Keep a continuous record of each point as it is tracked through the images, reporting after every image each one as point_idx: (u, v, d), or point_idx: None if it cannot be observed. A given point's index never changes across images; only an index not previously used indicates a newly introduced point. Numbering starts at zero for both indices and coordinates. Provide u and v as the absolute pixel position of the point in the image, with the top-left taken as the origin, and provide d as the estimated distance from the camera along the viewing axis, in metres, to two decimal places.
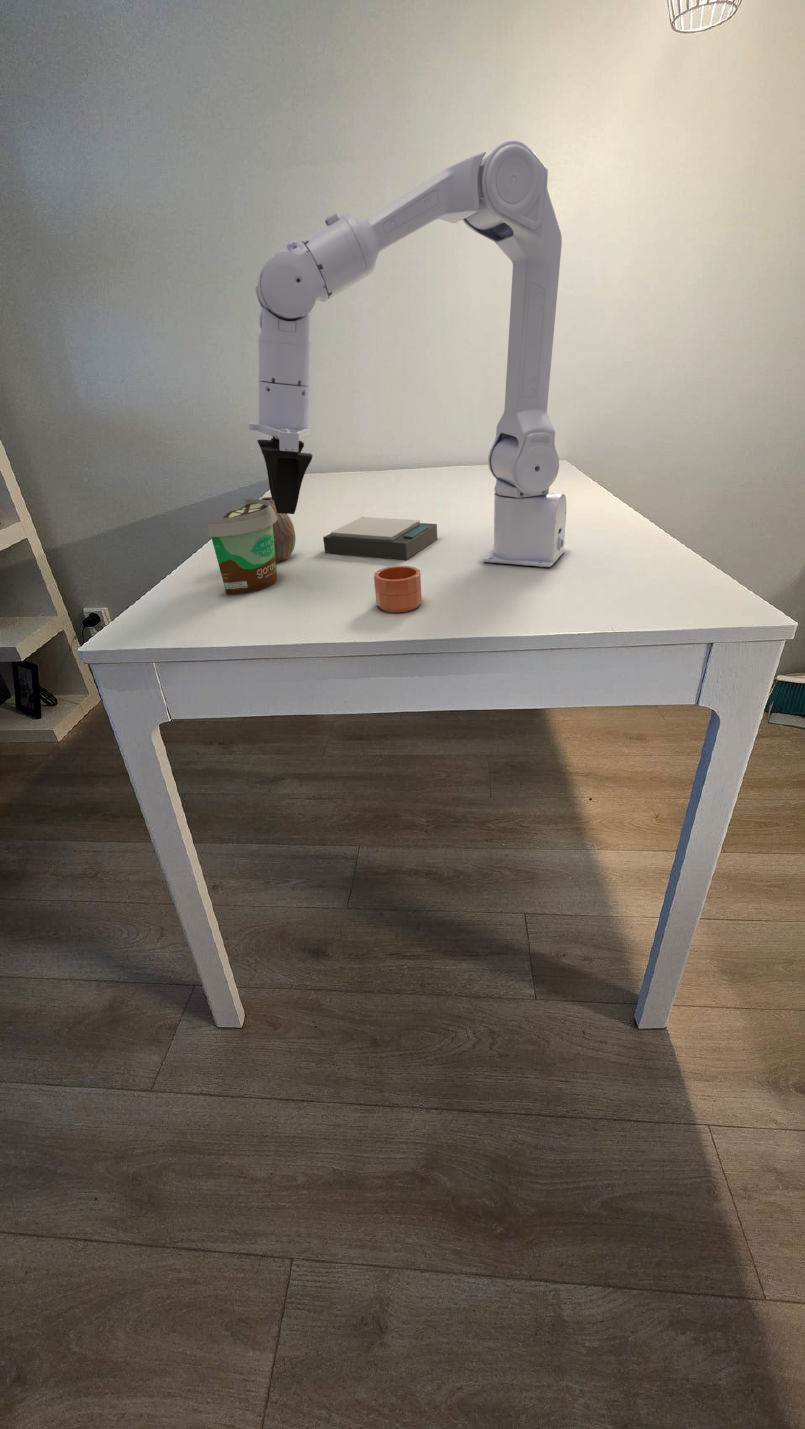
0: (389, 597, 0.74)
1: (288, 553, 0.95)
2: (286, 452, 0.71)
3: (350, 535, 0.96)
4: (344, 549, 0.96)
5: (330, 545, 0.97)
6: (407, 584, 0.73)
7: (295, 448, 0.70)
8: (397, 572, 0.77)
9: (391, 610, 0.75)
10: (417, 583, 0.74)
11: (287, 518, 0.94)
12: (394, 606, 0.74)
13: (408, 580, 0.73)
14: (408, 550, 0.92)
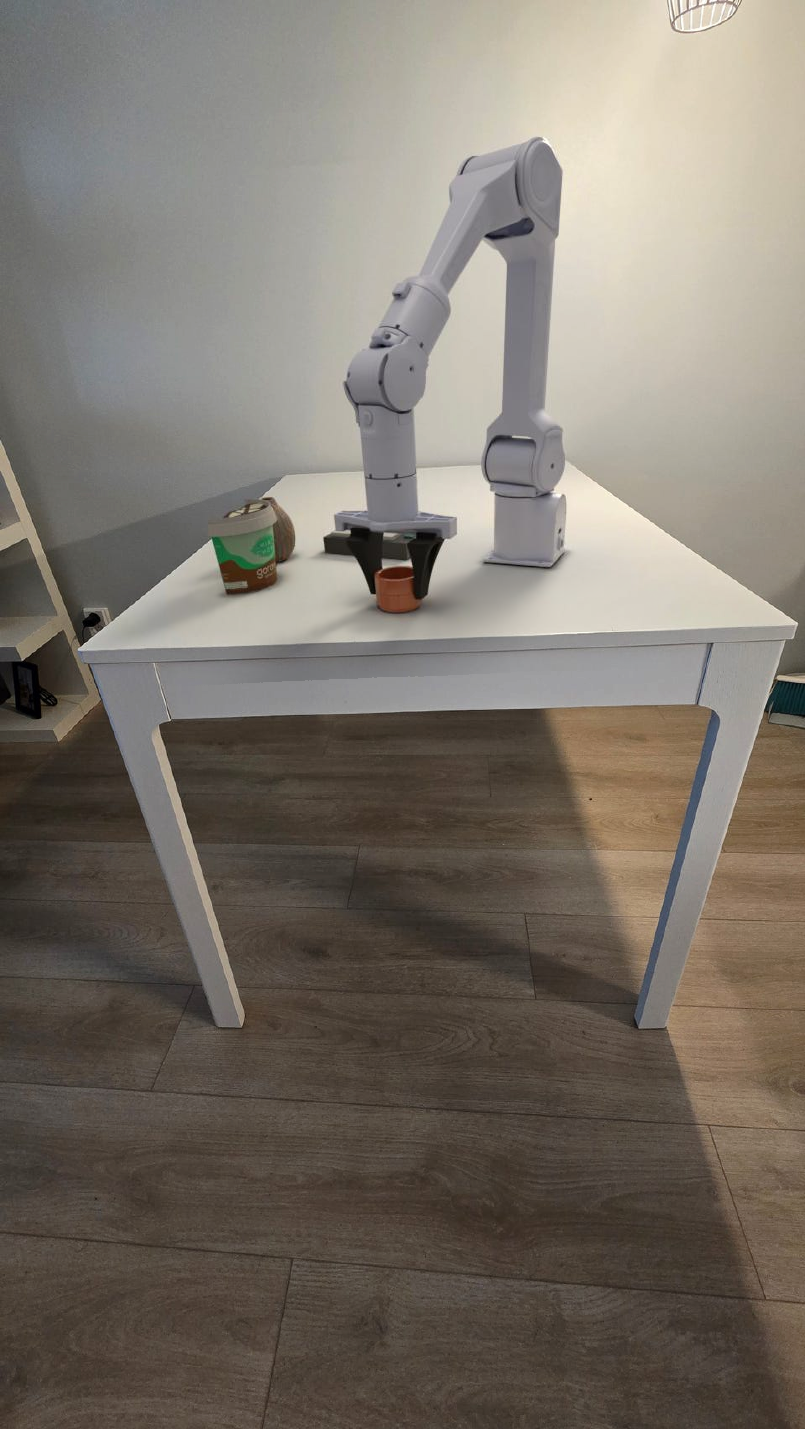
0: (389, 597, 0.74)
1: (288, 553, 0.95)
2: (437, 538, 0.70)
3: None
4: (344, 549, 0.96)
5: (330, 545, 0.97)
6: (407, 584, 0.73)
7: (456, 531, 0.70)
8: (397, 572, 0.77)
9: (391, 610, 0.75)
10: None
11: (287, 518, 0.94)
12: (394, 606, 0.74)
13: (408, 580, 0.73)
14: None
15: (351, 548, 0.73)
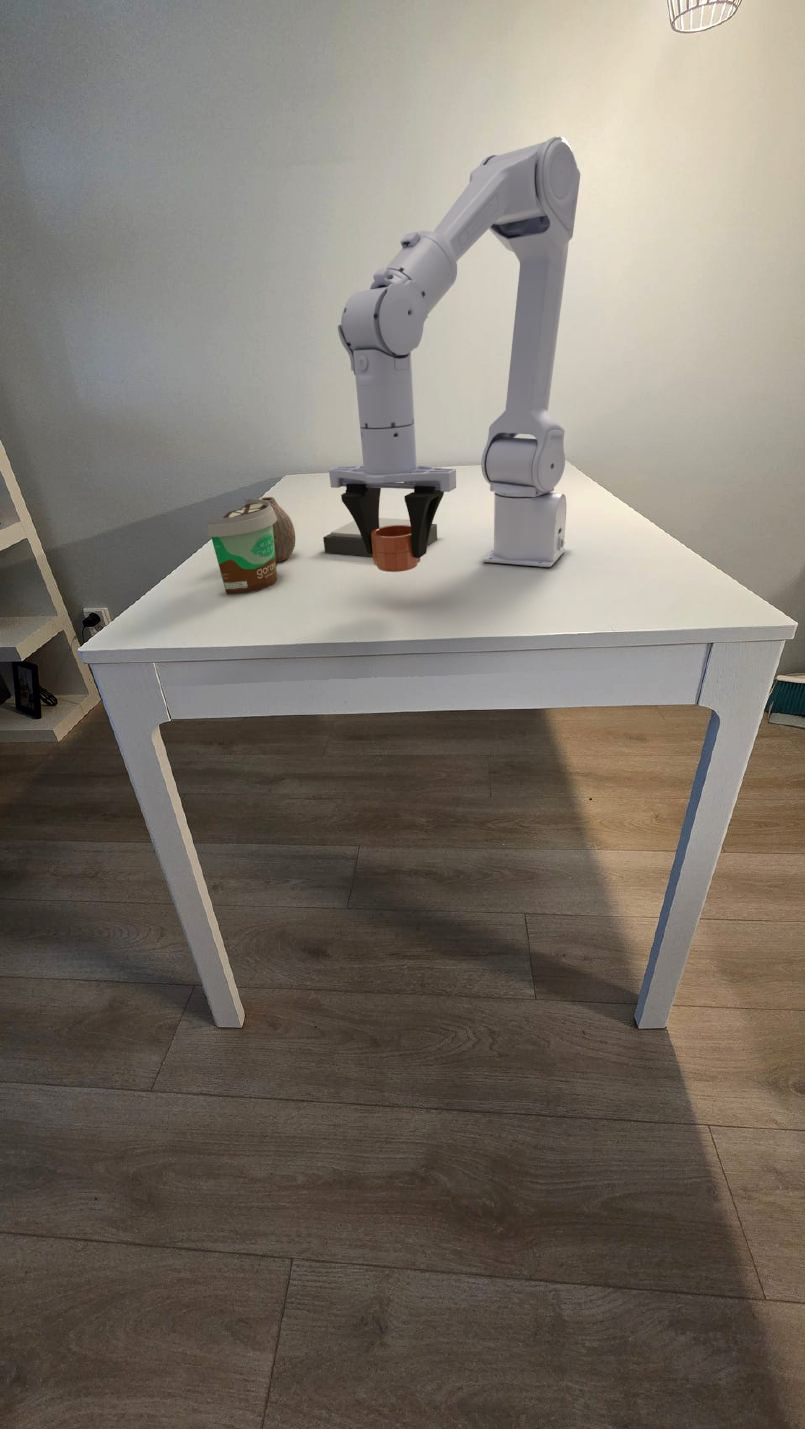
0: (386, 555, 0.72)
1: (288, 553, 0.95)
2: (435, 492, 0.68)
3: (350, 535, 0.96)
4: (344, 549, 0.96)
5: (330, 545, 0.97)
6: (405, 541, 0.71)
7: (455, 485, 0.68)
8: (395, 531, 0.75)
9: (388, 569, 0.73)
10: None
11: (287, 518, 0.94)
12: (392, 564, 0.72)
13: (406, 537, 0.71)
14: None
15: (347, 504, 0.71)
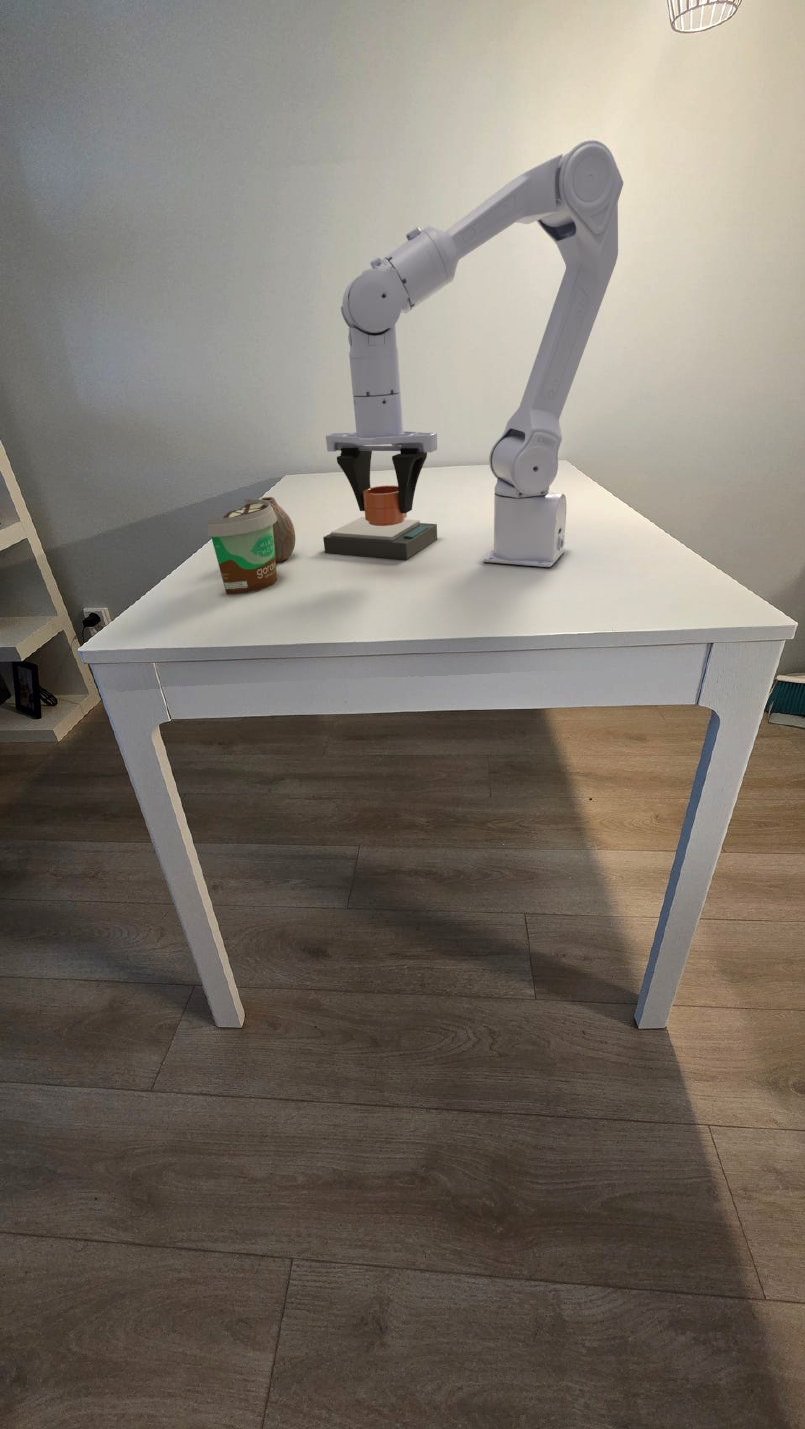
0: (377, 511, 0.81)
1: (288, 553, 0.95)
2: (419, 453, 0.78)
3: (350, 535, 0.96)
4: (344, 549, 0.96)
5: (330, 545, 0.97)
6: (393, 498, 0.80)
7: (436, 447, 0.77)
8: (384, 491, 0.84)
9: (378, 523, 0.82)
10: None
11: (287, 518, 0.94)
12: (381, 519, 0.82)
13: (394, 494, 0.80)
14: (408, 550, 0.92)
15: (342, 465, 0.81)
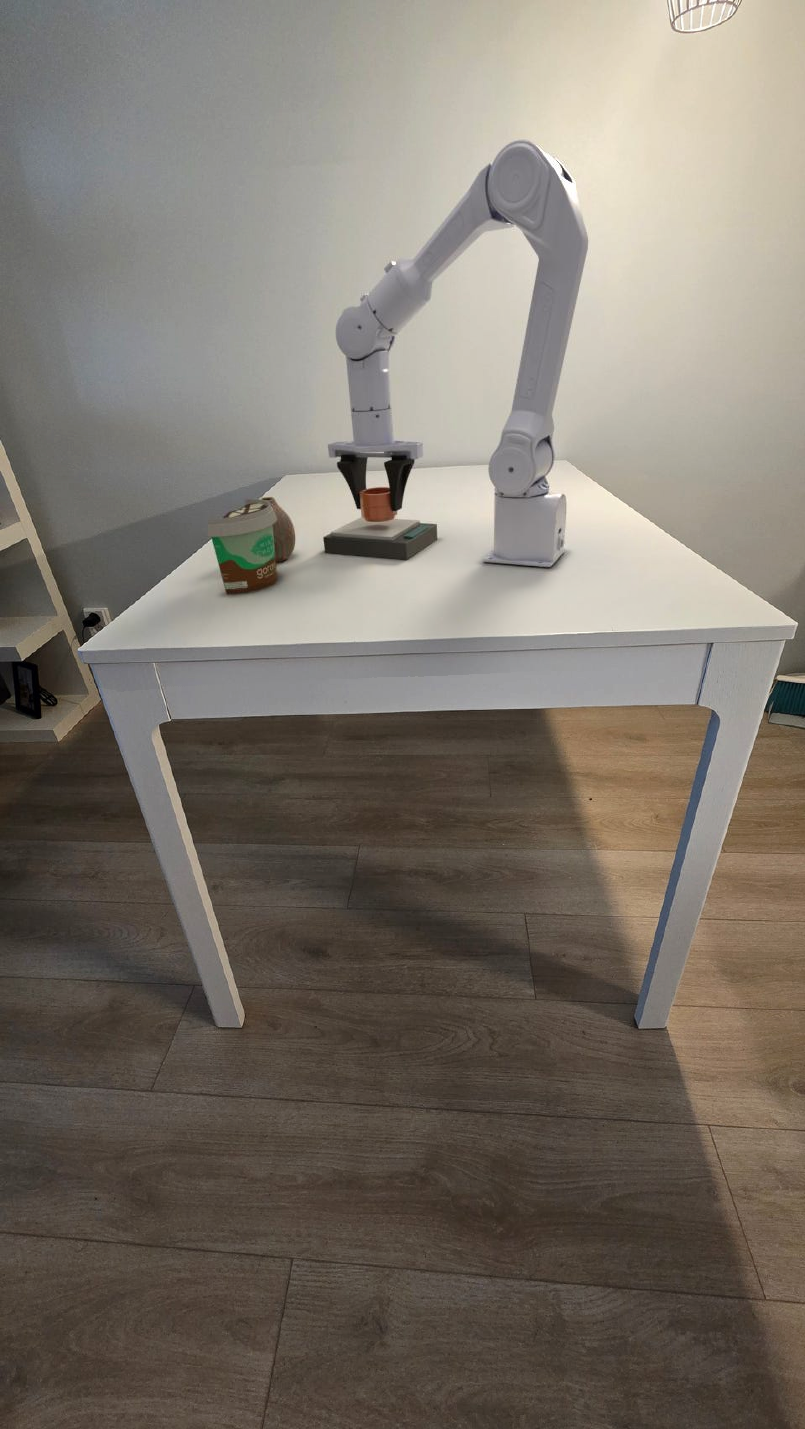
0: (371, 509, 0.94)
1: (288, 553, 0.95)
2: (407, 459, 0.91)
3: (350, 535, 0.96)
4: (344, 549, 0.96)
5: (330, 545, 0.97)
6: (385, 498, 0.93)
7: (422, 454, 0.90)
8: (378, 492, 0.97)
9: (373, 520, 0.95)
10: None
11: (287, 518, 0.94)
12: (375, 516, 0.94)
13: (386, 494, 0.93)
14: (408, 550, 0.92)
15: (341, 470, 0.94)
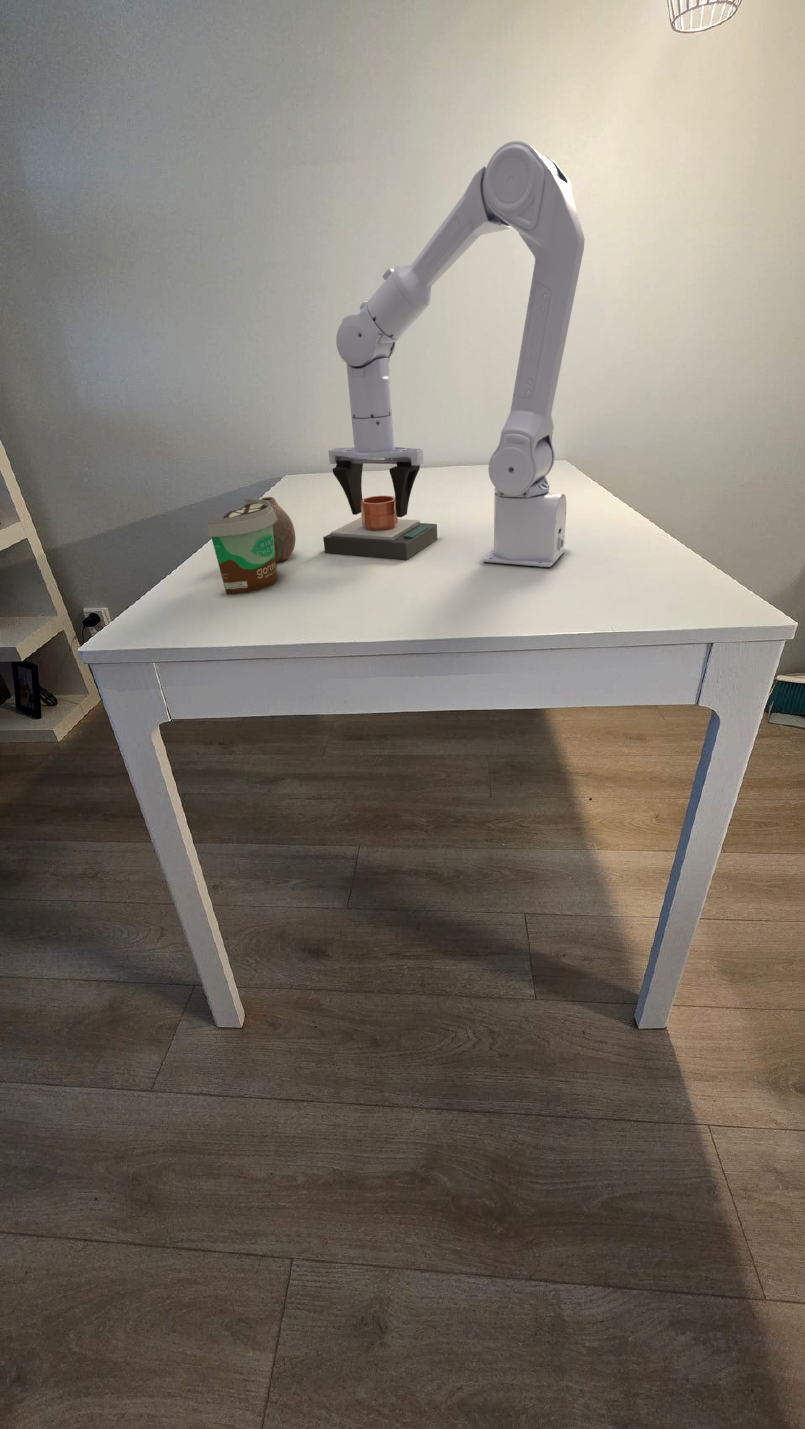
0: (372, 517, 0.95)
1: (288, 553, 0.95)
2: (413, 466, 0.91)
3: (350, 535, 0.96)
4: (344, 549, 0.96)
5: (330, 545, 0.97)
6: (385, 507, 0.94)
7: (422, 460, 0.91)
8: (378, 500, 0.98)
9: (373, 528, 0.96)
10: (394, 507, 0.95)
11: (287, 518, 0.94)
12: (376, 524, 0.95)
13: (386, 503, 0.94)
14: (408, 550, 0.92)
15: (337, 476, 0.94)
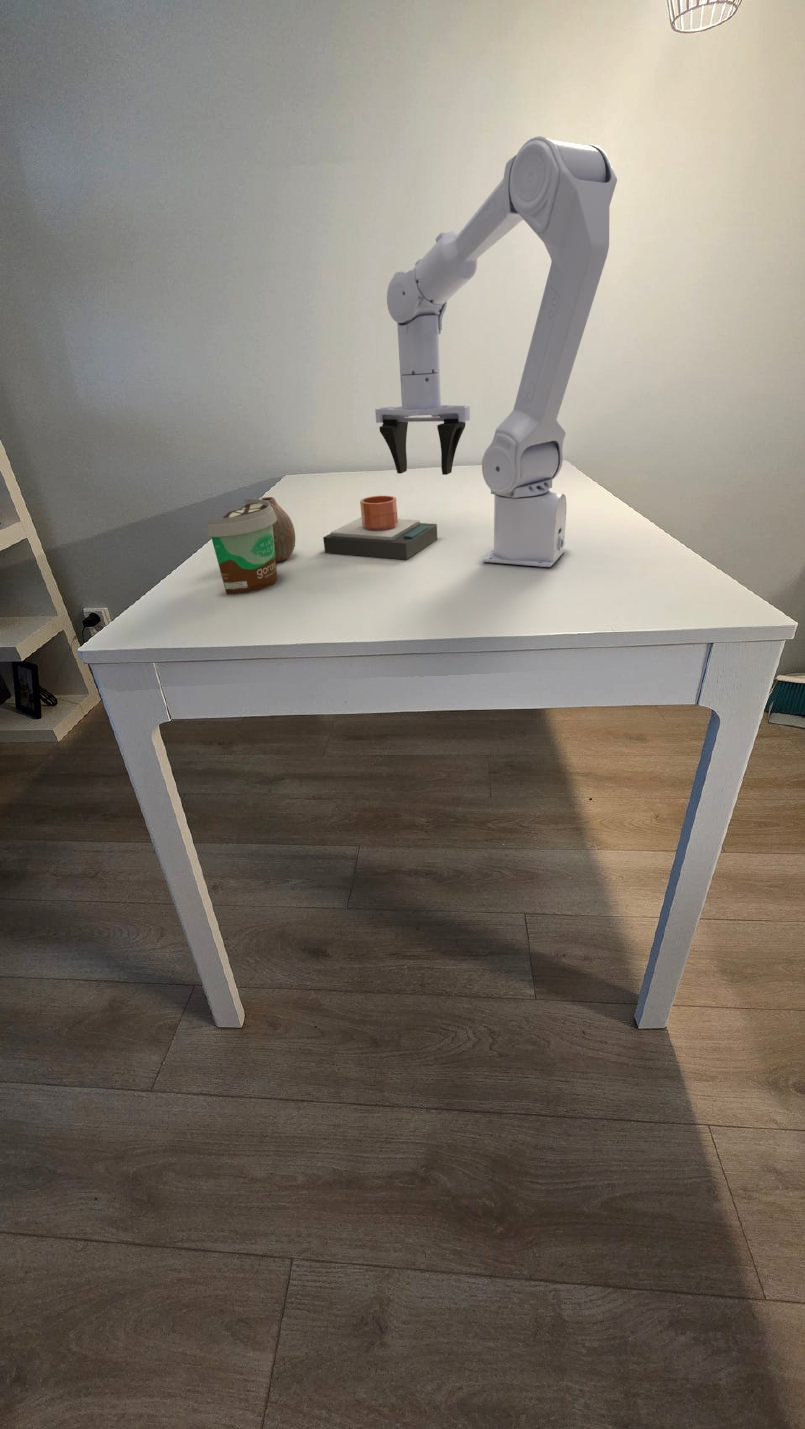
0: (372, 517, 0.95)
1: (288, 553, 0.95)
2: (460, 423, 0.93)
3: (350, 535, 0.96)
4: (344, 549, 0.96)
5: (330, 545, 0.97)
6: (385, 507, 0.94)
7: (469, 417, 0.93)
8: (378, 500, 0.98)
9: (373, 528, 0.96)
10: (394, 507, 0.95)
11: (287, 518, 0.94)
12: (376, 524, 0.95)
13: (386, 503, 0.94)
14: (408, 550, 0.92)
15: (383, 434, 0.97)
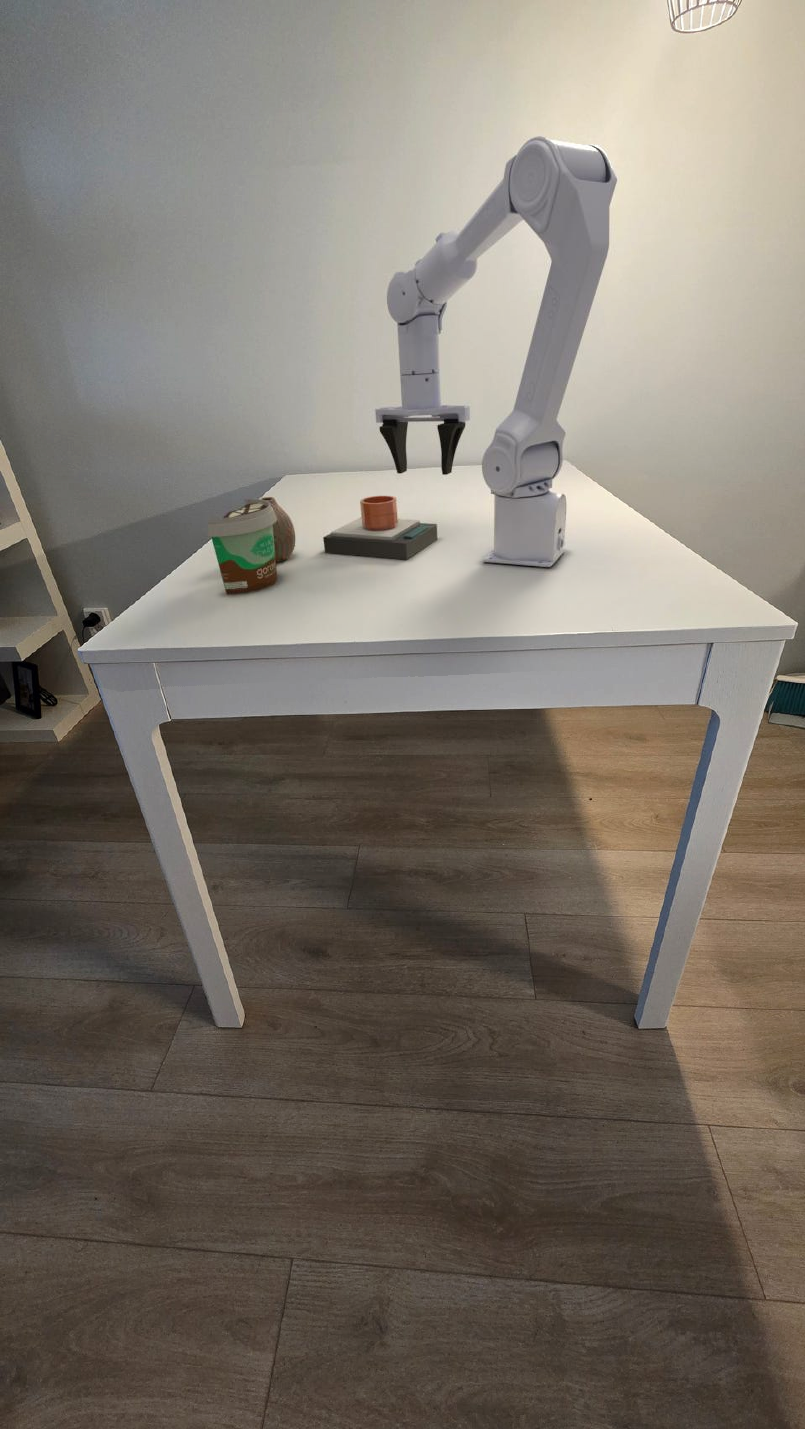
0: (372, 517, 0.95)
1: (288, 553, 0.95)
2: (460, 423, 0.93)
3: (350, 535, 0.96)
4: (344, 549, 0.96)
5: (330, 545, 0.97)
6: (385, 507, 0.94)
7: (469, 417, 0.93)
8: (378, 500, 0.98)
9: (373, 528, 0.96)
10: (394, 507, 0.95)
11: (287, 518, 0.94)
12: (376, 524, 0.95)
13: (386, 503, 0.94)
14: (408, 550, 0.92)
15: (383, 434, 0.97)
